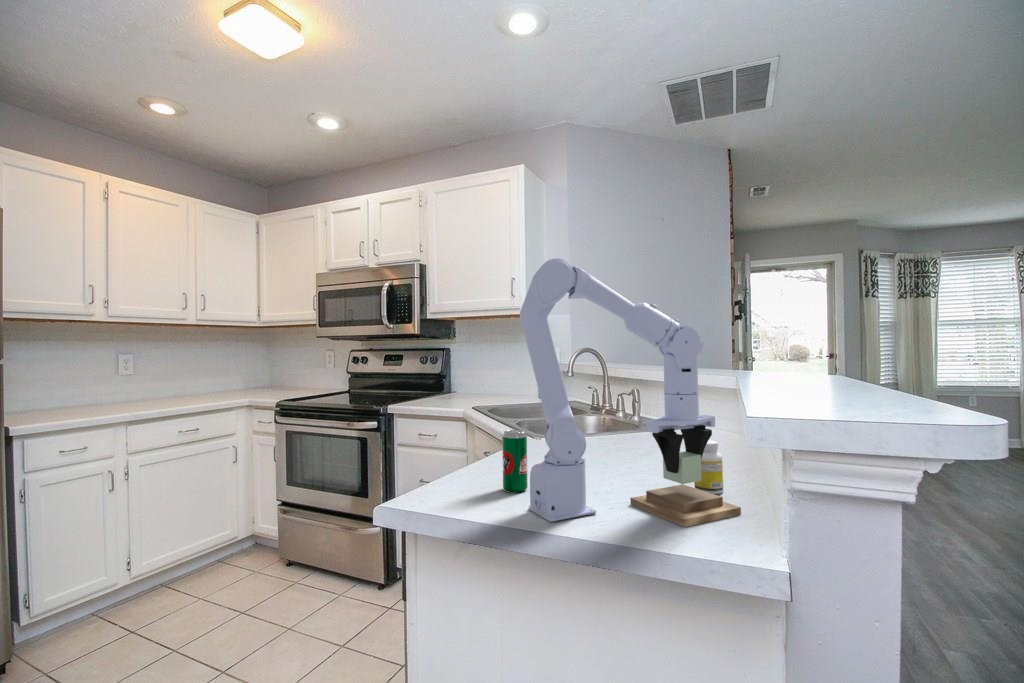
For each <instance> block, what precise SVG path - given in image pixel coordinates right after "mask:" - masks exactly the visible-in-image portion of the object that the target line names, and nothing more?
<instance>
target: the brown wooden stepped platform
mask: <svg viewBox="0 0 1024 683" xmlns="http://www.w3.org/2000/svg"><path fill="white" fill-rule="evenodd" d="M723 498H724V497H723V496H720V495H719V494H712V493H708V492H705V491H702V490H699V489H696V488H695V487H692V486H689V485H686V484H679V485H672V486H667V487H661V488H655V489H649V490H645V495H644V494H643V495H638V496H633V497H630V498H629V499H630V505H631V506H633V507H636V508H637V509H639V510H643V511H645V512H648V513H649V514H652V515H655V516H656V517H659V518H661V519H664V520H666V521H669V522H671V523H674V524H675V525H676V524H677V525H679V526H681V527H683V528H688V527H691V526H696V525H697V526H698V525H700V524H701V525H702V524H705V523H709V522H713V521H718V520H722V518H723V519H726V517H727V518H731V517H730V516H732V517H735V516H734V515H736V516H740V515H741V514H742V509H741V506H738V505H735V504H732V503H730V502H727V501H724V499H723ZM739 514H740V515H739Z"/></svg>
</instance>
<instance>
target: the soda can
mask: <svg viewBox="0 0 1024 683" xmlns="http://www.w3.org/2000/svg"><path fill="white" fill-rule="evenodd" d="M503 432H504V434H503V435H502V441H501V442H502V488H503V490H504V491H505V490H506V491H505V492H507V491H509V492H508V493H510V492H520V493H523V492H525V491H526V490H527V489H528V488H529V487H528V486H529V485H528V436H527V434H526V431H525V430H522V429H521V430H520V429H510V430H509V429H508V430H504V431H503ZM522 491H523V492H522Z"/></svg>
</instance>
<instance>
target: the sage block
mask: <svg viewBox="0 0 1024 683" xmlns="http://www.w3.org/2000/svg"><path fill="white" fill-rule="evenodd" d="M662 467H663V468H662V470H663V475H662V476H663V479H665V480H668V481H671V482H674V483H678V484H680V485H686V484H691V483H694V482H697V481H702V480H701V455H699V454H694V453H690V452H686V450H680V453H679V470H678V473H672V472H669V471H667V469H666V466H665V462H664V459H663V458H662Z"/></svg>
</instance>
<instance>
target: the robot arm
mask: <svg viewBox="0 0 1024 683" xmlns="http://www.w3.org/2000/svg"><path fill="white" fill-rule="evenodd" d="M527 289H528V290H527V292H526V296H525V298H524V301H523V302H522V303H523V304H521V305H522V306H521V308H520V311H519V319H520V323H521V328H522V331H523V334H524V338H525V343H526V346H527V350H528V354H529V358H530V361H531V365H532V369H533V373H534V376H535V381H536V385H537V388H538V392H539V397H540V401H541V404H542V408H543V413H544V414H543V415H544V420H545V424H546V426H545V427H546V428H545V432H544V440H545V443H546V445H547V446H548V448H549V450H548V452H547V453H546V454H545V455H544V456H543V457H544V458H543V459H544V460H543V461H542V462H540V463H537V464H534V465H533V466H532V467H531V469H530V473H529V495H530V496H529V497H530V498H529V500H530V501H529V502H530V505H528V510H530V511H531V512H533V513H535V514H537V515H539V516H540V517H541V518H543V519H545V520H546V521H548V522H552V523H553V522H557V521H564V520H568V519H573V518H579V517H584V516H589V515H594V514H597V510H596V509H594V508H592V507H591V506H589V505H587V492H586V490H587V489H586V487H587V486H586V485H587V484H586V477H587V476H586V457H585V456H584V454H585V452H586V448H587V440H586V436H584V433H583V432H582V431H581V430H580V429H579V428H578V425H577V424H576V420H575V416H574V414H573V411H572V409H571V407H570V403H569V399H568V395H567V391H566V387H565V384H564V380H563V377H562V372H561V368H560V364H559V360H558V356H557V353H556V352H557V351H556V348H555V345H554V341H553V337H552V334H551V330H550V325H549V322H548V316H549V315H550V313H551V312H552V311H553V308H554V307H555V305H556V303H558V302H559V301H560V300H561V299H562V298H564V297H565V296H566V294H568V299H569V300H572V299H573V300H575V299H576V300H579V299H586V300H588V301H590V302H591V303H594V304H595V305H597V306H599V307H601V308H602V309H604V310H606V311H608V312H609V313H612V314H614V315H615V316H616V317H619V318H620V319H622V320H623V321H624V325H625V328H626V330H627V331H629V332H631V334H633V335H635V336H637V337H639V338H640V339H642V340H644V341H645V342H646V343H649V344H650V345H652V346H654V347H655V348H658V351H659V352H660V353H661V355H663V389H664V415H662V416H661V417H659V418H655V419H649V420H646V432H647V433H652V434H651V435H652V437H653V438H654V440H655V442H656V444H657V445H658V448H659V450H660V453H661V455H662V460H663V459H664V462H665V466H666V469H667V471H669V472H672V473H678V470H679V453H680V451H681V446H682V443H684V448H685V451H686V452H690V453H694V454H699V455H701V459H702V455H703V452H704V449H705V446H706V444H707V442H708V440H710V439H711V437H712V435H713V431H712V430H713V429H710V428H713V427H716V415H710V414H702V415H699V414H700V413H699V412H700V410H699V408H700V407H699V377H698V376H699V374H698V373H699V369H698V355H699V354H701V351H702V350H703V347H704V341H703V340H701V337H700V335H699V333H698V331H697V330H696V329H695V328H693V327H691V326H688V325H680V320H679V319H677V318H675V317H674V318H671V317H669V316H668V315H666V314H665V313H663V312H661V311H660V310H658V309H657V308H658V305H656V304H655V303H653V302H650V303H649V304H648V303H647V302H644V301H643V302H638V303H632V302H631V301H630V300H628V299H627V298H626V297H624V296H622V295H621V294H620V293H618V292H617V291H615V290H613V289H612V288H610V287H609V286H607V285H606V284H605V283H603V282H601V281H600V280H598V279H597V278H595V277H594V276H592V275H591V274H589V273H588V272H587V271H585V270H584V269H582V268H580V267H578V266H576V265H573V266H572V265H571V264H570V263H569V262H568V261H567V260H564V259H563V258H551V259H548V260H547V261H545V262H543V264H542V265H541V266H540V267H539V269H538V270H536V272H535V273H534V275H533V276H532V279H531V282H530V284H529V287H528V288H527ZM706 427H707V428H706ZM708 427H709V428H708ZM679 430H680V432H681V434H680V433H677V431H679ZM682 441H683V442H682Z"/></svg>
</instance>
